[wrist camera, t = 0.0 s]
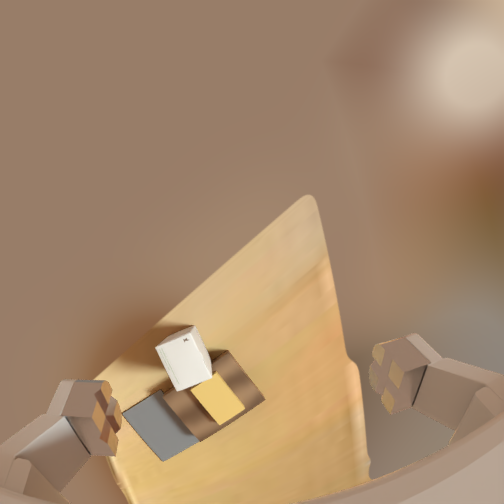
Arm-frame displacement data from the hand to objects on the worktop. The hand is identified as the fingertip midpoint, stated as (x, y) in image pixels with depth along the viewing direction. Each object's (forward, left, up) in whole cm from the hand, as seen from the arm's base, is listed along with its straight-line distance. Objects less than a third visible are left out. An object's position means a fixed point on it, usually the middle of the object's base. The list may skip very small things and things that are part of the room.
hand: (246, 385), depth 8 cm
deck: (-12, +11, -54) cm, 57 cm away
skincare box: (-2, +9, -55) cm, 55 cm away
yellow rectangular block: (-12, +10, -50) cm, 53 cm away
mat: (-12, +25, -54) cm, 61 cm away
